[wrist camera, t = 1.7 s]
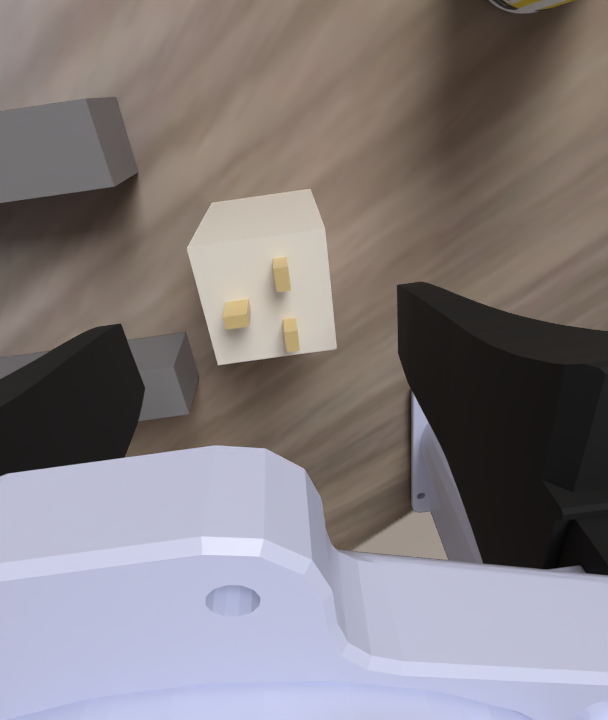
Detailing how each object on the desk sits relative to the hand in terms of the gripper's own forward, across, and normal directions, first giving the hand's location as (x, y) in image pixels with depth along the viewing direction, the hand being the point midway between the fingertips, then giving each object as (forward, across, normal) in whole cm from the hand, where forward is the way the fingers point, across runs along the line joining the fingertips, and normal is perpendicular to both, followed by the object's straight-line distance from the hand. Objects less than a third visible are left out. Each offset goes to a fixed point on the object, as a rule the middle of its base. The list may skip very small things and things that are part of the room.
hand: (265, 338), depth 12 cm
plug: (+8, 0, 0) cm, 8 cm away
